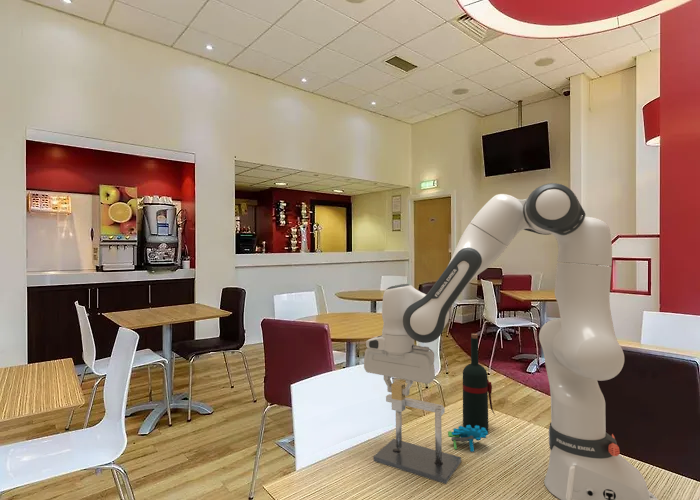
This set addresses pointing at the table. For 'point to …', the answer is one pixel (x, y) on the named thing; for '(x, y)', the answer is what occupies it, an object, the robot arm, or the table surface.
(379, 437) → the table surface
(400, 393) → the leg
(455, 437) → the gear
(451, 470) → the bolt plate
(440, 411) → the divider frame
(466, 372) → the wine bottle
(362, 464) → the table surface
